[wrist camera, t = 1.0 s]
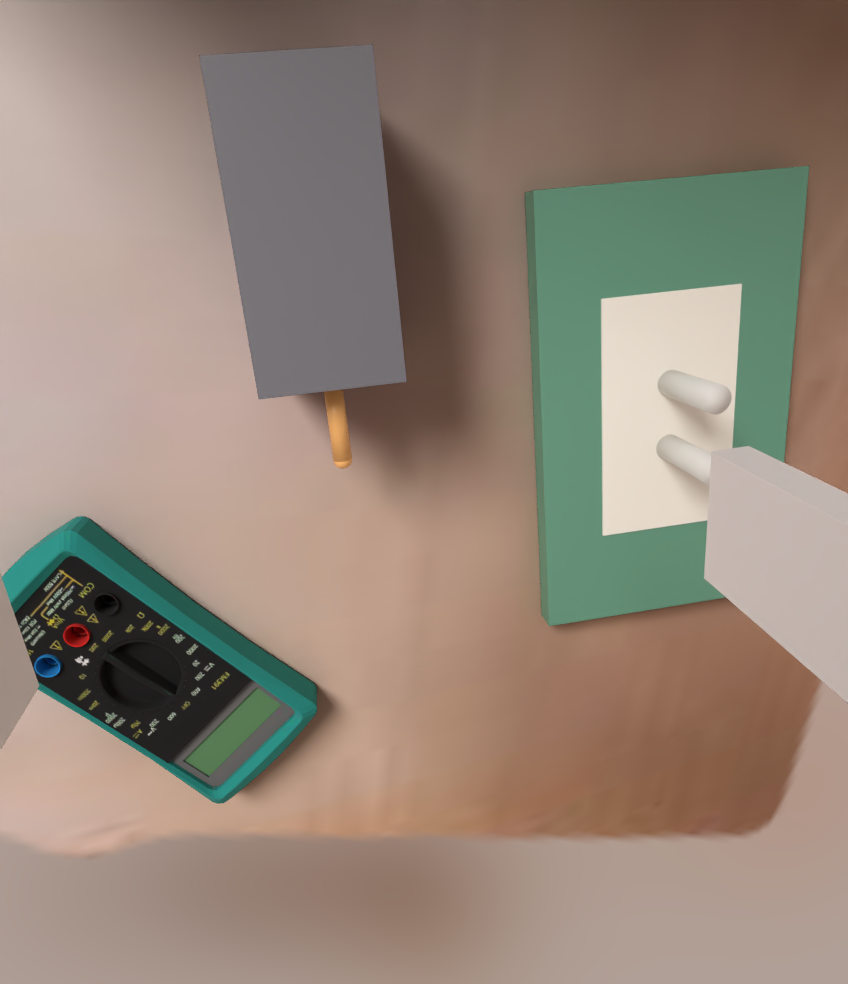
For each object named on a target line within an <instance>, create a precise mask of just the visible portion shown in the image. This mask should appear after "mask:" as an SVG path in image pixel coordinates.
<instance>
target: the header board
mask: <svg viewBox="0 0 848 984" xmlns="http://www.w3.org/2000/svg"><path fill="white" fill-rule="evenodd" d="M808 174H809V166H801V167H790V168H779V169H768V170H757V171H746V172H734V173H723V174H712V175H701V176H690V177H679V178H667V179H656V180H645V181H634V182H623V183H611V184H600V185H589V186H578V187H567V188H556V189H544V190H533V191H530V192H527V193H525V208H526V233H527V258H528V283H529V309H530V334H531V359H532V384H533V409H534V435H535V460H536V485H537V510H538V535H539V561H540V586H541V611H542V616H543V617H544V619H545V621H546V622H547V624H548V625H549V626H553V625H560V624H566V623H572V622H578V621H584V620H590V619H597V618H603V617H609V616H615V615H621V614H627V613H634V612H640V611H646V610H652V609H658V608H664V607H671V606H677V605H683V604H689V603H695V602H701V601H708V600H714V599H720V598H726V597H725V596H724V595H723V594H722V593H720V592H719V591H718V590H717V589H716V588H715V587H713V586H712V585H711V584H710V583H709V582H708V581H707V580H705V579H704V570H705V553H706V536H707V520H708V503H709V486H710V469H711V452H712V451H717V450H724V449H731V448H738V447H745V446H750V447H752V448H754V449H756V450H758V451H760V452H762V453H764V454H767V455H769V456H771V457H773V458H775V459H777V460H779V461H781V462H783V463H784V457H785V445H786V433H787V422H788V410H789V398H790V386H791V374H792V363H793V351H794V339H795V327H796V315H797V304H798V292H799V280H800V268H801V256H802V245H803V233H804V221H805V209H806V198H807V186H808Z"/></svg>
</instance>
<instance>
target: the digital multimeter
mask: <svg viewBox="0 0 848 984" xmlns="http://www.w3.org/2000/svg"><path fill="white" fill-rule="evenodd" d="M81 559H82V560H81ZM84 561H85V562H84ZM87 563H88V564H89V565H88V564H87ZM91 566H92V567H91ZM94 568H95V569H94ZM97 570H98V571H99V572H98V571H97ZM101 573H102V574H101ZM104 575H105V576H106V577H105V576H104ZM107 577H108V578H109V579H108V578H107ZM2 580H3V583H4V586H5V589H6V591H7V594H8V597H9V600H10V603H11V606H12V609H13V612H14V614H15V617H16V620H17V623H18V626H19V629H20V632H21V634H22V637H23V640H24V643H25V646H26V649H27V652H28V655H29V657H30V660H31V663H32V666H33V669H34V672H35V675H36V678H37V680H38V683H39V687H38V690H40V691H42V692H43V693H45V694H47V695H48V696H50V697H52V698H53V699H55V700H57V701H58V702H60V703H62V704H63V705H65V706H67V707H68V708H70V709H72V710H74V711H75V712H77V713H79V714H80V715H82V716H83V717H85V718H87V719H88V720H90V721H92V722H93V723H95V724H97V725H98V726H100V727H101V728H103V729H104V730H106V731H108V732H109V733H111V734H112V735H114V736H116V737H117V738H119V739H120V740H122V741H123V742H125V743H127V744H128V745H130V746H131V747H133V748H135V749H136V750H138V751H139V752H141V753H142V754H144V755H146V756H147V757H149V758H150V759H152V760H153V761H155V762H156V763H158V764H159V765H161V766H162V767H163V768H165V769H166V770H168V771H169V772H171V773H172V774H173V775H175V776H176V777H178V778H179V779H181V780H182V781H183V782H185V783H186V784H188V785H189V786H191V787H192V788H193V789H195V790H196V791H198V792H199V793H201V794H202V795H204V796H205V797H206V798H208V799H209V800H211V801H212V802H215V803H218V804H219V803H224V802H226V801H228V800H229V799H230V798H231V797H233V796H234V795H235V794H236V793H238V792H239V791H240V790H241V789H243V788H244V787H245V786H246V785H248V784H249V783H250V782H251V781H252V780H253V779H255V778H256V777H257V776H258V775H259V774H260V773H261V772H263V771H264V770H265V769H266V768H267V767H268V766H269V765H270V764H271V763H272V762H273V761H274V760H275V759H276V758H277V757H278V756H279V755H280V754H281V753H282V752H283V751H284V750H285V749H286V748H287V747H288V746H289V745H290V743H291V742H292V741H293V740H294V739H295V738H296V737H297V736H298V735H299V733H300V732H301V731H302V730H303V729H304V728H305V726H306V725H307V724H308V723H309V722H310V720H311V719H312V718H313V717H314V716H315V714H316V712H317V687H316V686H315V684H314V683H313V682H311V681H310V680H308V679H307V678H305V677H304V676H302V675H300V674H299V673H297V672H296V671H294V670H293V669H291V668H290V667H288V666H287V665H285V664H284V663H282V662H281V661H279V660H278V659H276V658H275V657H273V656H271V655H270V654H268V653H267V652H265V651H264V650H262V649H261V648H259V647H258V646H256V645H255V644H253V643H252V642H250V641H249V640H247V639H246V638H244V637H243V636H242V635H240V634H239V633H237V632H236V631H235V630H233V629H232V628H230V627H229V626H227V625H226V624H225V623H223V622H222V621H220V620H219V619H218V618H216V617H215V616H213V615H212V614H210V613H209V612H208V611H206V610H205V609H203V608H202V607H201V606H199V605H198V604H196V603H195V602H194V601H192V600H191V599H190V598H188V597H187V596H186V595H185V594H183V593H182V592H181V591H179V590H178V589H177V588H176V587H174V586H173V585H172V584H170V583H169V582H168V581H166V580H165V579H164V578H163V577H161V576H160V575H159V574H157V573H156V572H155V571H154V570H152V569H151V568H150V567H148V566H147V565H146V564H145V563H143V562H142V561H141V560H139V559H138V558H137V557H136V556H134V555H133V554H132V553H131V552H129V551H128V550H127V549H126V548H125V547H123V546H122V545H121V544H120V543H118V542H117V541H116V540H115V539H113V538H112V537H111V536H110V535H109V534H107V533H106V532H105V531H104V530H102V529H101V528H100V527H99V526H97V525H96V524H95V523H94V522H93V521H91V520H90V519H88V518H86V517H84V516H83V517H76V518H74V519H72V520H71V521H69V522H68V523H66V524H65V525H63V526H62V527H60V528H58V529H57V530H55V531H54V532H52V533H51V534H49V535H48V536H46V537H45V538H44V539H42V540H41V541H40V542H39V543H37V544H36V545H35V546H33V547H32V548H31V549H30V550H28V551H27V552H26V553H25V554H24V555H23V556H22V557H21V558H20V559H19V560H18V561H17V562H16V563H15V564H14V565H13V566H12V567H11V568H10V569H9V570H8V571H7V572H6V573H5V574H4V576H3V577H2ZM128 592H129V593H130V594H129V593H128ZM131 594H132V595H133V596H132V595H131ZM134 596H135V597H136V598H135V597H134ZM138 599H139V600H140V601H139V600H138ZM141 601H142V602H143V603H142V602H141ZM145 604H146V605H147V606H146V605H145ZM148 606H149V607H150V608H149V607H148ZM151 608H152V609H153V610H152V609H151ZM155 611H156V612H157V613H156V612H155ZM158 613H159V614H160V615H159V614H158ZM162 616H163V617H164V618H163V617H162ZM165 618H166V619H167V620H166V619H165ZM168 620H169V621H170V622H169V621H168ZM172 623H173V624H174V625H173V624H172ZM175 625H176V626H177V627H176V626H175ZM179 628H180V629H181V630H180V629H179ZM182 630H183V631H184V632H183V631H182ZM186 633H187V634H188V635H187V634H186ZM189 635H190V636H191V637H190V636H189ZM192 637H193V638H194V639H193V638H192ZM196 640H197V641H198V642H197V641H196ZM199 642H200V643H201V644H200V643H199ZM203 645H204V646H205V647H204V646H203ZM112 646H113V647H112ZM206 647H207V648H208V649H207V648H206ZM209 649H210V650H211V651H210V650H209ZM213 652H214V653H215V654H214V653H213ZM103 654H104V655H103ZM216 654H217V655H218V656H217V655H216ZM220 657H221V658H222V659H221V658H220ZM100 658H101V659H100ZM223 659H224V660H225V661H224V660H223ZM227 662H228V663H229V664H228V663H227ZM230 664H231V665H232V666H231V665H230ZM233 666H234V667H235V668H234V667H233ZM237 669H238V670H239V671H238V670H237ZM240 671H241V672H242V673H241V672H240ZM244 674H245V675H246V676H245V675H244ZM248 677H249V678H248ZM177 698H178V699H177ZM161 709H162V710H161ZM128 711H129V712H128ZM155 711H156V712H155ZM150 712H151V713H150Z"/></svg>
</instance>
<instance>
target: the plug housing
mask: <svg viewBox="0 0 848 984" xmlns="http://www.w3.org/2000/svg"><path fill="white" fill-rule="evenodd" d="M199 57H200V63H201V69H202V75H203V80H204V86H205V92H206V98H207V103H208V109H209V115H210V121H211V127H212V132H213V138H214V144H215V150H216V156H217V161H218V167H219V173H220V179H221V184H222V190H223V196H224V202H225V208H226V213H227V219H228V225H229V231H230V236H231V242H232V248H233V254H234V260H235V265H236V271H237V277H238V283H239V289H240V294H241V300H242V306H243V312H244V317H245V323H246V329H247V335H248V341H249V346H250V352H251V358H252V364H253V369H254V375H255V381H256V387H257V393H258V398H259V399H266V398H274V397H283V396H291V395H300V394H308V393H316V392H324V396H325V404H326V411H327V418H328V425H329V432H330V439H331V446H332V453H333V460H334V463H335V465H336V466H337V467H339V468H347V467H348V466H349V465H350V464H351V462H352V455H351V447H350V439H349V432H348V424H347V417H346V409H345V401H344V394H343V389H350V388H359V387H367V386H375V385H384V384H392V383H401V382H407V380H406V370H405V360H404V350H403V340H402V330H401V320H400V311H399V301H398V291H397V281H396V271H395V261H394V251H393V241H392V231H391V221H390V211H389V201H388V191H387V181H386V171H385V161H384V151H383V141H382V131H381V121H380V111H379V101H378V91H377V81H376V71H375V61H374V51H373V44H371V45H355V46H340V47H324V48H308V49H292V50H277V51H261V52H245V53H230V54H214V55H199Z"/></svg>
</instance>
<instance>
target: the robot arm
mask: <svg viewBox="0 0 848 984" xmlns="http://www.w3.org/2000/svg"><path fill="white" fill-rule="evenodd" d="M704 579H705V580H707V581H708V582H709V583H710V584H711V585H712V586H713V587H715V588H716V589H717V590H718V591H719V592H720V593H722V594H723V595H724V596H725V597H726V598H727V599H728V600H730V601H731V602H732V603H733V604H734V605H735V606H736V607H738V608H739V609H740V610H741V611H742V612H743V613H745V614H746V615H747V616H748V617H749V618H750V619H751V620H753V621H754V622H755V623H756V624H757V625H758V626H759V627H761V628H762V629H763V630H764V631H765V632H766V633H767V634H769V635H770V636H771V637H772V638H773V639H774V640H776V641H777V642H778V643H779V644H780V645H781V646H782V647H784V648H785V649H786V650H787V651H788V652H789V653H790V654H792V655H793V656H794V657H795V658H796V659H797V660H799V661H800V662H801V663H802V664H803V665H804V666H805V667H807V668H808V669H809V670H810V671H811V672H812V673H813V674H815V675H816V676H817V677H818V678H819V679H820V680H821V681H823V682H824V683H825V684H826V685H827V686H828V687H830V688H831V689H832V690H833V691H834V692H835V693H837V694H838V695H839V696H840V697H841V698H842V699H843V700H845V701H846V702H847V703H848V493H846V492H844V491H842V490H840V489H837V488H835V487H833V486H831V485H829V484H827V483H825V482H823V481H821V480H819V479H817V478H815V477H812V476H810V475H808V474H806V473H804V472H802V471H800V470H798V469H796V468H794V467H792V466H789V465H787V464H785V463H783V462H781V461H779V460H777V459H775V458H773V457H771V456H769V455H767V454H764V453H762V452H760V451H758V450H756V449H754V448H752V447H750V446H745V447H738V448H731V449H724V450H717V451H712V452H711V469H710V486H709V503H708V520H707V536H706V553H705V570H704ZM38 687H39V683H38V680H37V678H36V675H35V672H34V669H33V666H32V663H31V660H30V657H29V655H28V652H27V649H26V646H25V643H24V640H23V637H22V634H21V632H20V629H19V626H18V623H17V620H16V617H15V614H14V612H13V609H12V606H11V603H10V600H9V597H8V594H7V591H6V589H5V586H4V583H3V580H2V577H1V574H0V750H1V749H2V747H3V745H4V744H5V742H6V740H7V739H8V737H9V735H10V734H11V732H12V730H13V729H14V727H15V726H16V724H17V722H18V721H19V719H20V717H21V716H22V714H23V712H24V711H25V709H26V707H27V706H28V704H29V702H30V701H31V699H32V697H33V696H34V694H35V692H36V691H37V689H38Z"/></svg>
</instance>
